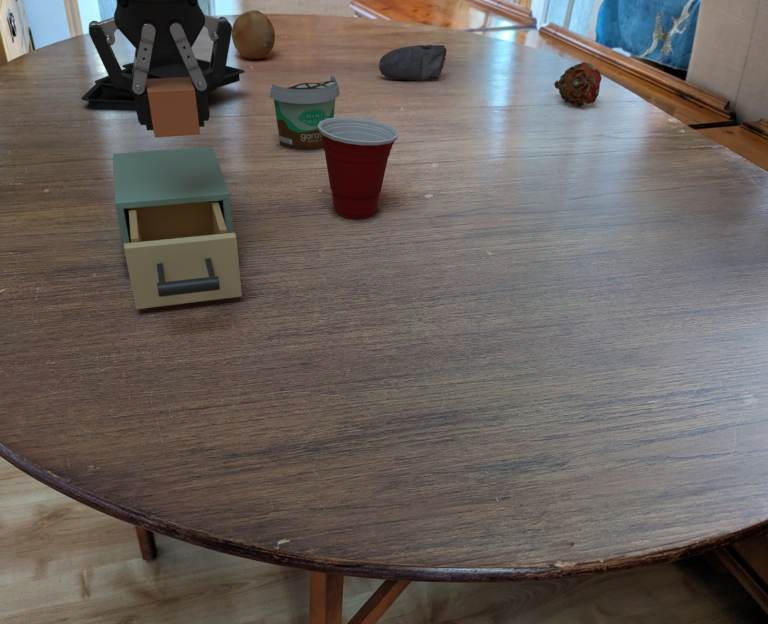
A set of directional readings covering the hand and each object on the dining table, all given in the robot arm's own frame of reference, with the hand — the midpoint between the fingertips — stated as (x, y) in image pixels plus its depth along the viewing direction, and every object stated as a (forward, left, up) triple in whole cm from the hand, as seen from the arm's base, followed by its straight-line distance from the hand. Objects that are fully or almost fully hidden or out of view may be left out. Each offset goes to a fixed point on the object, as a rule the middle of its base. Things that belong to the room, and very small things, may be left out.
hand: (174, 125), depth 77 cm
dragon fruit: (+97, +10, -18) cm, 99 cm away
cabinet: (+3, +8, -17) cm, 19 cm away
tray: (+34, +62, -18) cm, 73 cm away
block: (0, 0, 0) cm, 0 cm away
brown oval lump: (+65, +76, -18) cm, 102 cm away
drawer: (-3, -3, -17) cm, 17 cm away
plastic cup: (+27, 0, -18) cm, 32 cm away
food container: (+39, +24, -18) cm, 49 cm away
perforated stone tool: (+82, +42, -18) cm, 94 cm away
